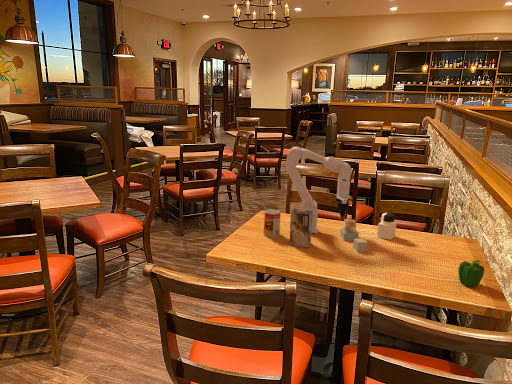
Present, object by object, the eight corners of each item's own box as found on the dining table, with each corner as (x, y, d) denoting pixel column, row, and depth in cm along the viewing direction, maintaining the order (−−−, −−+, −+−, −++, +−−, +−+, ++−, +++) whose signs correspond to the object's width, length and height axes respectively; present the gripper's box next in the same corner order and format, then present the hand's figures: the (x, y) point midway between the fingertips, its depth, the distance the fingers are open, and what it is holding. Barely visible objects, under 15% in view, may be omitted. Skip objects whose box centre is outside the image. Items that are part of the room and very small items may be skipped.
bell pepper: (457, 286, 138) (462, 262, 135) (455, 277, 145) (459, 253, 143) (483, 291, 135) (488, 266, 133) (479, 281, 143) (484, 257, 140)
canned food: (269, 230, 190) (270, 208, 187) (282, 234, 186) (283, 211, 183) (260, 234, 184) (261, 211, 181) (273, 238, 180) (274, 215, 177)
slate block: (343, 241, 180) (344, 233, 179) (340, 235, 187) (340, 228, 186) (357, 241, 180) (358, 233, 179) (353, 235, 187) (354, 228, 186)
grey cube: (357, 251, 167) (358, 242, 166) (352, 248, 171) (353, 238, 170) (366, 251, 168) (367, 242, 167) (362, 247, 172) (363, 238, 171)
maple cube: (344, 232, 181) (345, 222, 179) (343, 228, 185) (344, 219, 184) (355, 232, 180) (356, 223, 179) (353, 229, 185) (354, 219, 184)
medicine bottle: (394, 236, 188) (397, 213, 185) (391, 240, 182) (394, 217, 179) (380, 233, 191) (383, 210, 188) (376, 237, 185) (379, 214, 182)
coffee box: (311, 243, 175) (313, 210, 171) (308, 248, 170) (310, 214, 166) (292, 240, 179) (294, 208, 175) (288, 244, 173) (290, 211, 169)
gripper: (353, 191, 176) (351, 218, 180) (349, 184, 190) (347, 209, 194) (338, 190, 177) (336, 217, 180) (335, 183, 191) (333, 209, 194)
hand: (341, 213), depth 187 cm, fingers open, 7 cm apart
